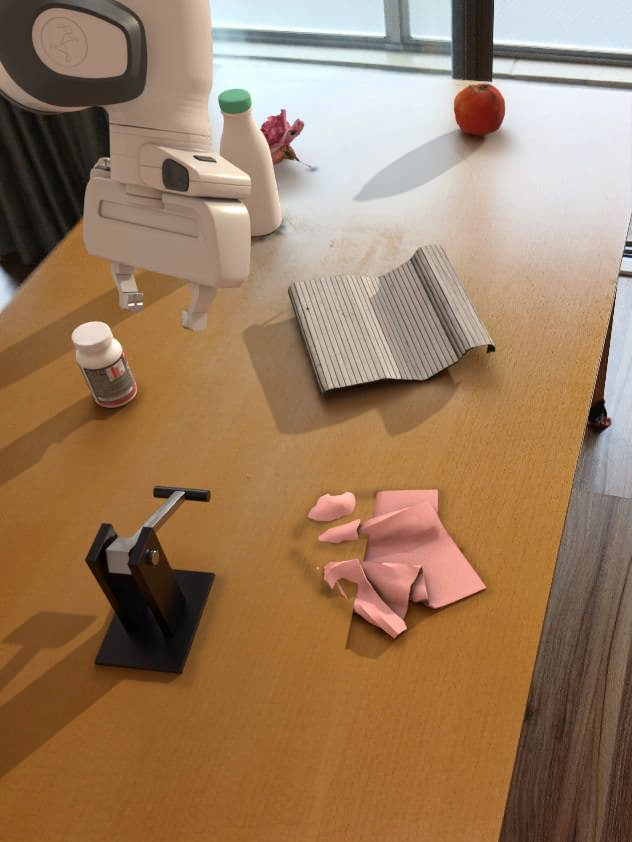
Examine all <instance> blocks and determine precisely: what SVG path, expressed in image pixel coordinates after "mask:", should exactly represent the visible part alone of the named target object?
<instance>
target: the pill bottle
mask: <svg viewBox="0 0 632 842" xmlns="http://www.w3.org/2000/svg"><path fill="white" fill-rule="evenodd" d="M71 341H72V344H73V347H74V348H75V349H76V352H75V360H76V363H77V366H78V367H79V369H80V371H81V374H82V376H83V378H84V380H85V383H86V385H87V387H88V389H89V391H90V393H91V396H92V398H93V400H94V402H96V404H98V405H99V406H101V407H103V408H108V409H110V408H111V409H112V408H119V407H122V406H125V405H126V404H128V403H130V402H131V401H132V400H134V398H135V397H136V395H137V392H138V386H137V383H136V380H135V377H134V375H133V372H132V369H131V368H130V364H129V362H128V359H127V358H126V355H125V352H124V349H123V347H122V345H121V343H120V342H119V341H118V340H117V339H115V338H114V335H113V332H112V331H111V328H110V326H109V325H108V324H107V323H105V322H102V321H89V322H84V323H83V324H80V325H79V326H77V327H76V328H74V330H73V332H72V334H71Z"/></svg>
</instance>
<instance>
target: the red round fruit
mask: <svg viewBox="0 0 632 842" xmlns="http://www.w3.org/2000/svg"><path fill="white" fill-rule="evenodd" d="M453 113H454V117H455V122H456V124H457V126H458V127H459V128H460V130H461V131H462V132H464V133H466V134H471V135H475V136H486V135H488V134H491V133H495V132H496V131H498V130H499V129H500V128H501V126H502V124H503V122H504V120H505V116H506V102H505V98H504V96H503V95H502V93H501V91H500V90H499V89H498V88H497V87H496V86H494V85H492V84H491V83H487V82H483V83H476V84H468V86H466V87H464V88H463V89H462V90H460V91H459V92H458V93H457V94H456V96H455V97H454V101H453Z"/></svg>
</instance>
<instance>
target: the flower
mask: <svg viewBox="0 0 632 842" xmlns="http://www.w3.org/2000/svg"><path fill="white" fill-rule="evenodd" d="M266 119H267V120H265V121H264V122H263V123H262V124H261V127H260V128H259V129H260V130H261V132H262V133H263V135H264V137H265V139H266V141H267V143H268V146H269V149H270V153H271V158H272V163H273V168H274V167H275V166H276V165H279V164H280V163H282V161H283V160H288V161H296V162H300V163H302V164H303V165H305V166H308V167H309V168H312V166H311V165H309V164H306V163H304V162H301V160H300V159H299V157H297V154H296V152H295V149H294V148H293V147H292V146H291V143H292V142H293V141H294V140H295V139H296V138H297V137H298V136H300V135H301V133H302V131H303V130H304V127H305V122H304V120H301V118H297V119H295V120H294V122H293V124H292V125H291V124H290V122H289V121H288V120H287V109H286V108H281V109H280V113H279V114H276V115H269V116H267V117H266Z"/></svg>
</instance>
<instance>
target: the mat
mask: <svg viewBox="0 0 632 842" xmlns="http://www.w3.org/2000/svg"><path fill="white" fill-rule="evenodd" d="M287 294H288V297H289V300H290V304H291V307H292V310H293V312H294V316H295V319H296V323H297V325H298V329H299V332H300V335H301V338H302V342H303V345H304V348H305V351H306V354H307V357H308V360H309V364H310V366H311V369H312V373H313V377H314V379H315V384H316V386H317V389H318V391H319V395H320V397H321V398H323V397H324V396H326V393H329V392H334V391H337V390H342V389H348V388H354V387H357V386H362V385H368V384H372V383H378V382H384V381H413V382H419V381H420V382H421V381H426V380H429V379H431V378H433V377H435V376H437V375H438V374H440V373H442V372H443V371H445V370H447V369H449V368H450V367H452V366H454V365H456V364H457V363H458V362H459V361H461V359H462V358H463V357H464V356H465V355H466V354H467V353H468V352H469V351H470V350H471V351H472V350H473V349H476V348H478V347H484V346H487V348H486V351H485V355H488V354H490V353H495V352H496V351H497V349H496V345H495V343H494V341H493V339H492V338H491V336H490V334H489V332H488V329H487V328H486V326H485V324H484V323H483V320H482V319H481V317H480V314H479V312H478V311H477V309H476V308H475V306H474V303H473V302H472V300H471V298H470V296H469V294H468V292H467V290H466V289H465V287H464V284H463V283H462V281H461V279H460V277H459V276H458V273H457V272H456V270H455V267H454V266H453V264H452V261H451V260H450V258H449V256H448V254H447V252H446V250H445V248H444V246H443V245H441V244H437V243H435V244H427V245H424V246H420V247H418V248H417V249H416V250H415V251H414V253H413V255H412V256H411V257H410V258H409V259H408V260H407V261H405V262H404V263H402V264H400V265H399V266H398V267H396V268H394V269H391V270H389V271H388V272H387V273H385V274H383V275H381V276H378V277H375V276H364V275H353V274H339V275H333V276H327V277H321V278H315V279H308V280H302V281H297V282H292V284H290V285H289V286H288V287H287Z"/></svg>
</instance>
